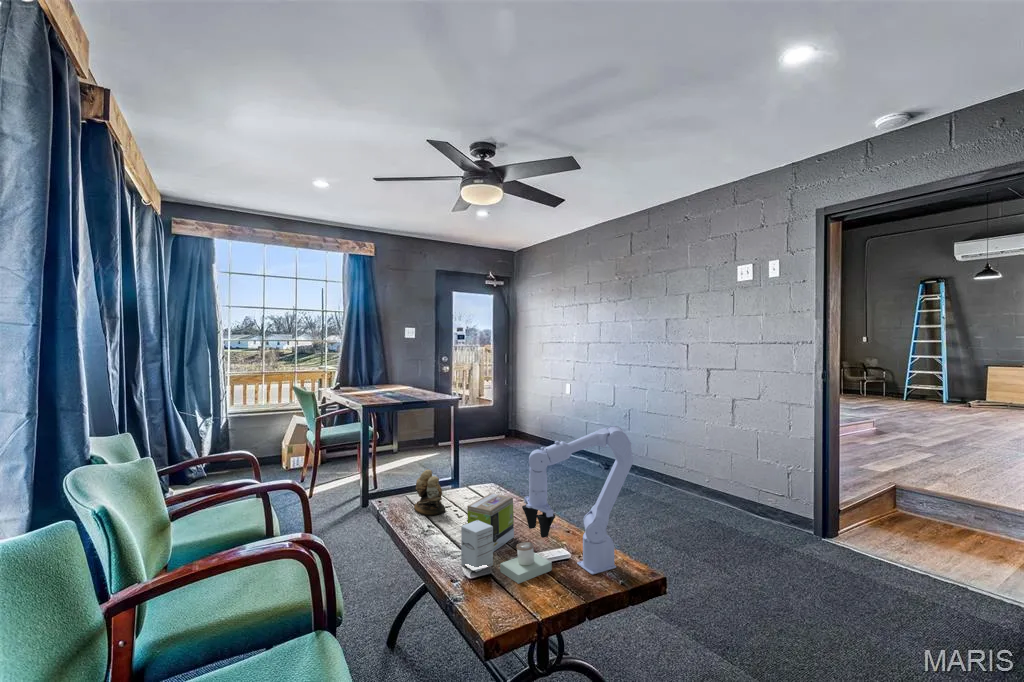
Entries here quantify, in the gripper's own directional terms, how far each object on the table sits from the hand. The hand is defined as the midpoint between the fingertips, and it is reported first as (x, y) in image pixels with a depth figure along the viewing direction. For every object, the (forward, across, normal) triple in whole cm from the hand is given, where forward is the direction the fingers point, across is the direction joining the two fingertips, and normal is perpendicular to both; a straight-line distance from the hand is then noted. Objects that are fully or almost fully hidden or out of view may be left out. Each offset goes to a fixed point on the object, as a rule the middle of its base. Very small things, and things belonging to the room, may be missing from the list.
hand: (538, 532), depth 149 cm
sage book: (+11, +1, -5) cm, 12 cm away
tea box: (+11, -22, -6) cm, 25 cm away
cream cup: (+8, +1, -5) cm, 9 cm away
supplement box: (+11, -9, -17) cm, 22 cm away
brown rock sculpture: (+11, -63, -15) cm, 66 cm away
